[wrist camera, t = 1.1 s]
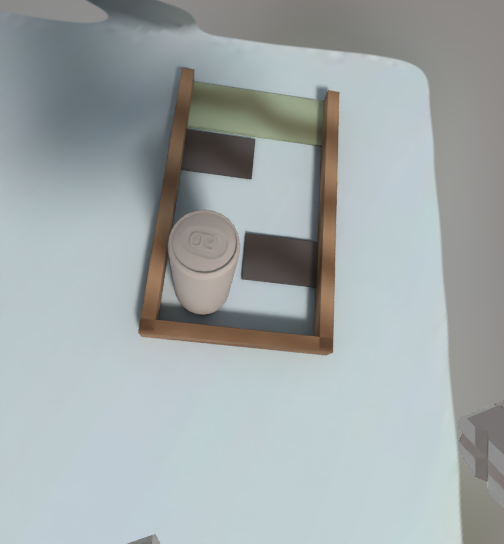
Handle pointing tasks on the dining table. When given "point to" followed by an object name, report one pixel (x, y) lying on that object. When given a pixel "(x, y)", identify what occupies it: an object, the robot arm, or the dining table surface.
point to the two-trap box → (239, 163)
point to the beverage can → (203, 260)
